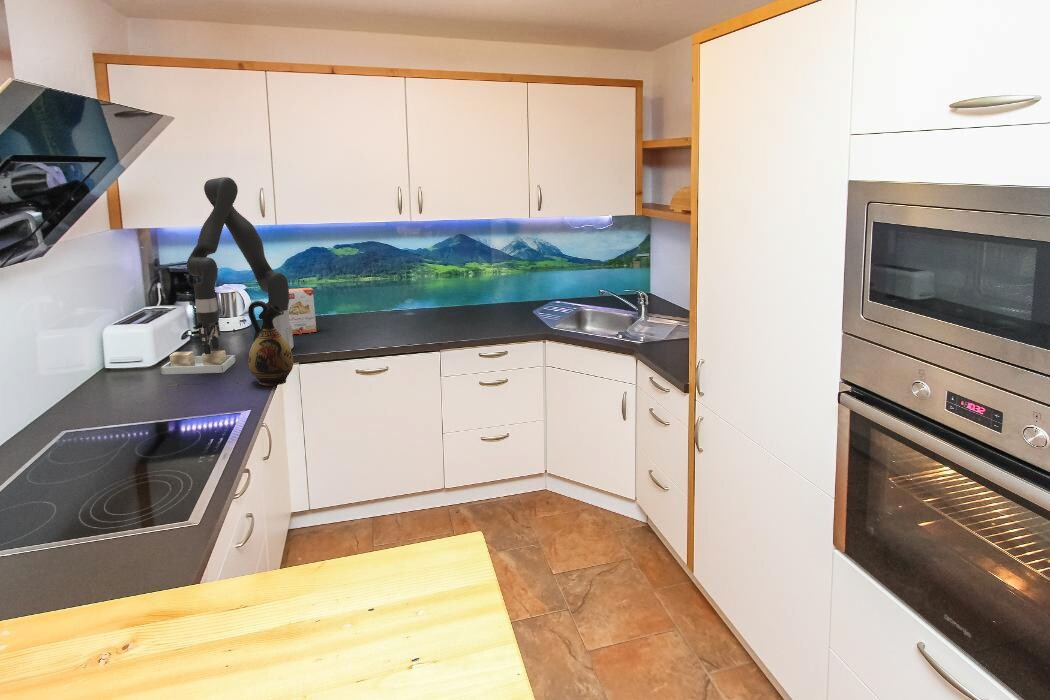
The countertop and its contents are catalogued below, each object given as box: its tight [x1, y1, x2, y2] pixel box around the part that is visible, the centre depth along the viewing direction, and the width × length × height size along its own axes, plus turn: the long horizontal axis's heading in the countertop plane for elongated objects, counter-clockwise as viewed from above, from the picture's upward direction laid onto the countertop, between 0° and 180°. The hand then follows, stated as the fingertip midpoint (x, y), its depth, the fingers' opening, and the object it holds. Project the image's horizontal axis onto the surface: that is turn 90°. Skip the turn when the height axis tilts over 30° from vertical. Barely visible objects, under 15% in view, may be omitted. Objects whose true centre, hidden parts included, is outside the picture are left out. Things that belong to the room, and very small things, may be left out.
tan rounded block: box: [169, 351, 195, 367], centre depth 268 cm, size 7×5×6 cm
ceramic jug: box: [247, 300, 294, 387], centre depth 250 cm, size 17×15×30 cm
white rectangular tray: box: [160, 354, 237, 376], centre depth 269 cm, size 23×15×4 cm, turn 95°
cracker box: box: [288, 287, 317, 336], centre depth 322 cm, size 14×6×21 cm, turn 114°
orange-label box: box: [201, 350, 227, 366], centre depth 269 cm, size 7×5×6 cm
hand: (212, 351), depth 268 cm, fingers open, 8 cm apart
